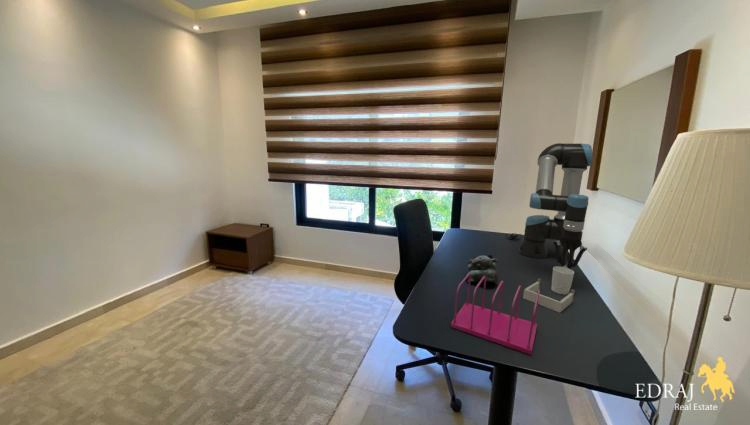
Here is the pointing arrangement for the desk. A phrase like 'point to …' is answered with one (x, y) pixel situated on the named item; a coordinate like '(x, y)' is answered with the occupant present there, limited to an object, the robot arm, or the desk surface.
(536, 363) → the desk surface
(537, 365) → the desk surface
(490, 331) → the file sorter
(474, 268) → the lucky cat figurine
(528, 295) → the open u-shaped frame
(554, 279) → the white cup
